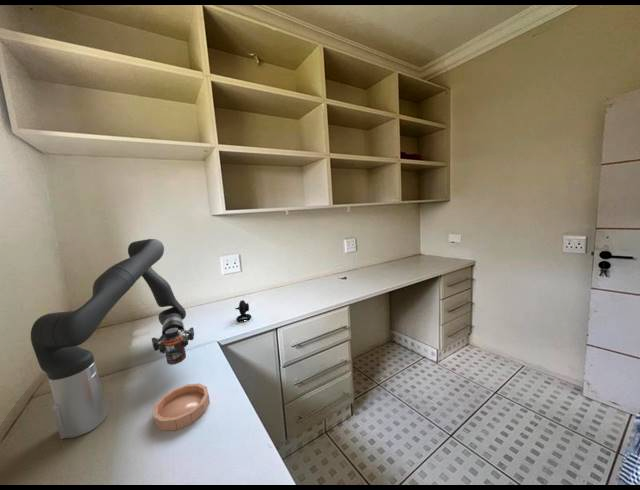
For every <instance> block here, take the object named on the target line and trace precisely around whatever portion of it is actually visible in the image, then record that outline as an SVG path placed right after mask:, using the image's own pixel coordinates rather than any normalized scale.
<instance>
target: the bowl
mask: <svg viewBox="0 0 640 490" xmlns="http://www.w3.org/2000/svg"><path fill="white" fill-rule="evenodd" d="M210 402H211V401H210V397H209V390H208V387H207V385H204V384H202V383H200V382H199V383H188V384H185V385H181V386H180V387H176V388H174V389H172V390H170V391H168V393H166V394H165V395H163V396H161V398H159V400H158V402H157V403H156V404H155V405H154V406H153V414H152V415H153V416H152V417H153V423H154V426H155V427H156V428H158V429H159V430H161V431H162V432H167V431H177V430H180V429H182V428H185V427H187V426H188V425H191V424H193V423H194V422H196V421H197V420H198V419H199V418H200V417H202V416H203V415H204V414H205V413H206V411H207V409H208V407H209V406H210Z"/></svg>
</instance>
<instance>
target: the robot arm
mask: <svg viewBox="0 0 640 490" xmlns="http://www.w3.org/2000/svg"><path fill="white" fill-rule="evenodd" d="M164 252H165V246H164V244H163V242H162V241H161V240H160V239H158V238H157V239H156V238H148V239H142V240H136V241H132V242H131V243H130V244H129V245H128V247H127V254H128V256H129V258H125V259H123V260H121V261H119V262H117V263H115V264H113V265H112V266H110V267H108V268H107V269H106V270H105V271H104V272H102V274H100V275H99V276H98V277H97V278H96V279H95V280H94V282H93V284H92V296H91V298H89V300H87V301H86V302H85V303H84V304H83V305H81V307H78V308H77V309H75V310H72V311H71V310H70V311H69V310H68V311H58V312H50V313H46V314H44V315H42V316H40V317H39V318H37V319H36V320H35V321H34V323H33V324H32V326H31V330H30V341H31V345H32V349H33V351H34V354H35V357H36V359H37V363H38V365H39V367H40V369H41V370H42V371H43V372H45V373H46V375H47V379H48V382H49V383H48V384H49V386H50V389H51V394H52V397H53V401H54V405H52V413H53V416H54V419H55V424H56V428H57V431H58V435H59V438H60V440H63V439H64V440H65V439H67V438H68V439H71V438H72V439H73V438H77V437H80V436H83V435H85V434H88V433H90V432H91V431H93V430H94V429H96V428H97V427H99V426H100V425H101V424H102V423H103V422H104V421H105V419H106V418H107V415H108V412H107V406H106V404H105V399H104V395H103V391H102V387H101V383H100V378H99V375H98V369H97V366H96V362H95V358H94V357H95V356H94V354H93V352H92V351H91V350H89V349H85V348H83V347H80V346H79V345H82V344H83V343H85V342H86V341H87V340H89V339H90V338H91V336H92V335H94V333H95V332H96V331H97V329H98V327H99V326H100V325H101V323H102V322H103V321H104V320H105V318H106V316H107V315H108V314H109V312H110V311H111V310H112V308H113V307H115V305H117V303H118V302H119V301H120V300H121V298H123V297H124V295H125V294H126V293H128V291H129V290H131V288H132V287H133V286H134V285H135V284H136V283H137V281H138V280H139V279H140V278H141V277H142V278H143V280H144V281H145V282H146V284H147V286H148V287H149V289H150V291H151V293H152V296H153V297H154V300H155V301H156V304H157V307H159V308H165V307H166V308H167V307H169V308H167V309H164V310H162V311H161V312H159V314H158V321H159V323H160V324H161V326H162V328H161V336H160V337H158V338H156V337H152V338H151V344H152V347H153V350H154V351H155V352H156V351H158V350H159V353H162V354H163V355H164V354H165V349H164V343H163V339H164V338H165V337H166V336H165V331H167V330H168V329H171V328H178V331H179V332H178V333H181V334H182V336H183V342H184V347H185V348H186V347H187V345H189V341H193V340H194V338H195V330H194V329H195V328H194V327H190V328H189V329H188V330H186V329H185V325H184V321H183V320H184V319H185V318H186V316H187V312H186V309H185V308H184V307H183V306H182V304H180V302H179V300H177V298H176V296H175V294H174V292H173V289H172V287H171V285H170V284H169V282H168V281H167V280H166V279H165V278H163V276H162V275H159V273H157V272H156V271H155V270H154V269H153V265H155V264H156V263H158V262H159V261H160V260H161V258H162V257H163V255H164V254H165V253H164Z"/></svg>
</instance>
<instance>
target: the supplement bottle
mask: <svg viewBox="0 0 640 490" xmlns="http://www.w3.org/2000/svg"><path fill="white" fill-rule="evenodd" d="M178 332H179V331H178V328H171V329H168V330H167V331H165V336H166V337H165V338H164V339H163V343H164V349H165V353H164V354H165V358H166V363H167V365H169V366H170V365H171V366H172V365H173V366H174V365H177V364H180V363H182V362H184V360H185V359H186V357H187V354H186V347H184V342H183V336H182V334H181V333H178Z"/></svg>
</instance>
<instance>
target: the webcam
mask: <svg viewBox="0 0 640 490" xmlns="http://www.w3.org/2000/svg"><path fill="white" fill-rule="evenodd" d="M235 310H238V311H239V314H240V315H238V316H237V317H236V321H237V320H238V321H244V320H248V319H249V320H251V319H252V315H251V314H250V313H247V312H249V311H250V305H249V303H248V302H247V303H246V301H245V300H244V299H243V300H239V304H238V307H235ZM250 318H251V319H250ZM249 320H248V321H249ZM238 321H237V322H238Z"/></svg>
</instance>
